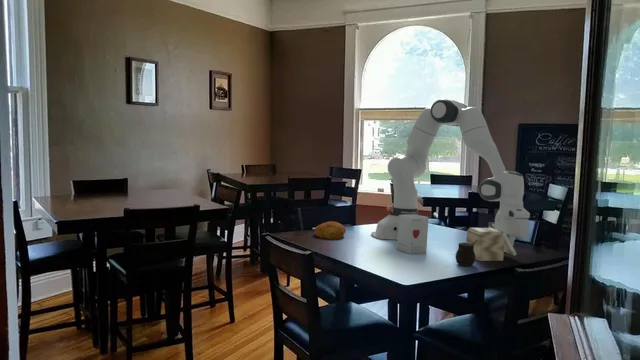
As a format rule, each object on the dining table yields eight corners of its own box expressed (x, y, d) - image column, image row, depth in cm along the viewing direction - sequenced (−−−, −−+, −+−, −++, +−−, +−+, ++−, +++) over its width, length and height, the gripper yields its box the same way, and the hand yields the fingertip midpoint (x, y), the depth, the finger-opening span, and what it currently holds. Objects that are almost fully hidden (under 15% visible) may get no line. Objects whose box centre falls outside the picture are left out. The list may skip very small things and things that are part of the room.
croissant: (346, 239, 242) (348, 222, 242) (342, 240, 226) (344, 222, 227) (317, 236, 244) (318, 219, 245) (311, 237, 229) (312, 219, 230)
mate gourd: (453, 262, 192) (455, 236, 192) (473, 263, 192) (475, 237, 191) (456, 266, 185) (458, 239, 184) (477, 268, 184) (479, 241, 184)
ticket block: (479, 260, 197) (481, 232, 196) (465, 253, 208) (467, 226, 208) (503, 260, 198) (504, 232, 197) (488, 253, 210) (490, 227, 209)
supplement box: (409, 254, 203) (411, 217, 202) (396, 249, 211) (398, 214, 210) (427, 253, 207) (429, 216, 206) (413, 248, 215) (415, 213, 214)
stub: (503, 235, 199) (505, 234, 199) (492, 231, 208) (494, 230, 208) (514, 255, 200) (516, 254, 201) (502, 250, 209) (505, 249, 209)
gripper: (491, 208, 213) (489, 240, 214) (517, 214, 193) (515, 250, 194) (505, 208, 214) (503, 240, 215) (532, 214, 194) (530, 249, 195)
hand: (509, 245), depth 204 cm, fingers closed, pressing on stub
